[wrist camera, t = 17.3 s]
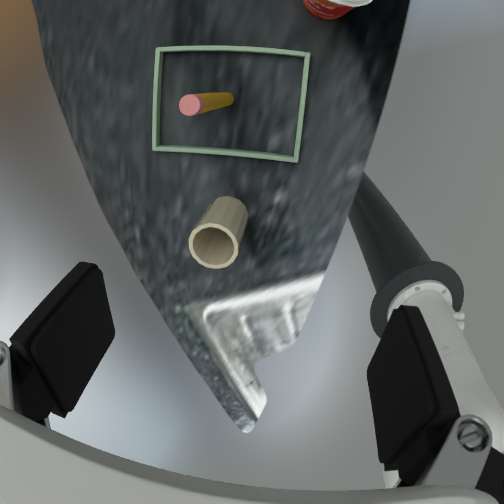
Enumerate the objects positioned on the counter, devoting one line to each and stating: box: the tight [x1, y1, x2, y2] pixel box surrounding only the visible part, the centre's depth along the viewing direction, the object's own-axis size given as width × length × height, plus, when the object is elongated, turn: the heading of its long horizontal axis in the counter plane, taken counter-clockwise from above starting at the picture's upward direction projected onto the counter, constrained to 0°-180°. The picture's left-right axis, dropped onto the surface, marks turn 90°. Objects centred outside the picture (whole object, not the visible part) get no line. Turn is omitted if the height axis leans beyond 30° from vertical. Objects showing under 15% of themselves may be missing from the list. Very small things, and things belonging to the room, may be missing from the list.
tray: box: [152, 46, 310, 163], centre depth 37 cm, size 19×14×2 cm
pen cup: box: [189, 196, 249, 269], centre depth 41 cm, size 6×6×10 cm
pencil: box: [179, 92, 234, 116], centre depth 30 cm, size 2×2×16 cm
